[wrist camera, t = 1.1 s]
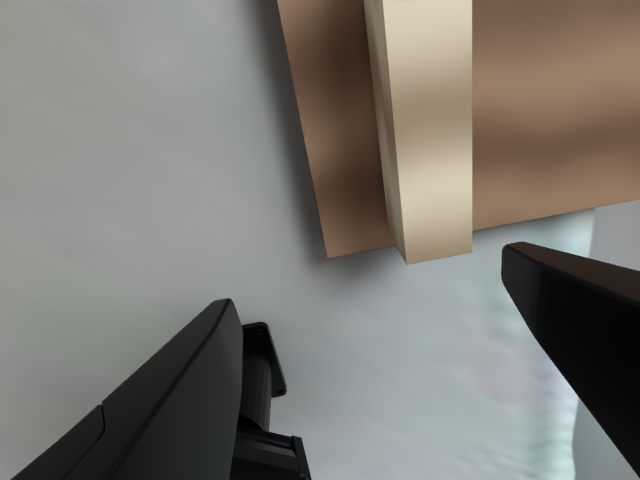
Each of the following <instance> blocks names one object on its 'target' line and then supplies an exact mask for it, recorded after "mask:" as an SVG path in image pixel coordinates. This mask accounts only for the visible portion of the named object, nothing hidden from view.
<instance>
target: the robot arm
mask: <svg viewBox="0 0 640 480" xmlns="http://www.w3.org/2000/svg"><path fill="white" fill-rule="evenodd" d="M501 277H502V282H503V284H504V286H505V288H506V290H507V292H508V293H509V295H510V297H511V298H512V300H513V302H514V304H515V305H516V307H517V309H518V310H519V312H520V314H521V316H522V317H523V319H524V321H525V322H526V324H527V326H528V328H529V329H530V331H531V332H532V334H533V336H534V337H535V339H536V340H537V341H538V343H539V344H540V346H541V347H542V348H543V350H544V351H545V352H546V354H547V355H548V356H549V358H550V359H551V360H552V362H553V363H554V364H555V366H556V367H557V368H558V370H559V371H560V372H561V374H562V375H563V376H564V378H565V379H566V380H567V382H568V383H569V384H570V386H571V387H572V388H573V390H574V391H575V393H576V394H577V395H578V397H579V398H580V399H581V401H582V402H583V403H584V405H585V406H586V407H587V408H588V410H589V411H590V412H591V414H592V415H593V417H594V418H595V419H596V420H597V422H598V423H599V425H600V426H601V427H602V429H603V430H604V431H605V433H606V434H607V435H608V437H609V438H610V439H611V441H612V442H613V443H614V444H615V446H616V447H617V449H618V450H619V451H620V452H621V454H622V455H623V457H624V458H625V459H626V461H627V462H628V463H629V465H630V466H631V467H632V469H633V470H634V471H635V473H636V474H637V475H638V477H639V478H640V271H637V270H632V269H628V268H625V267H621V266H616V265H613V264H609V263H605V262H601V261H597V260H593V259H589V258H585V257H582V256H578V255H574V254H570V253H566V252H562V251H558V250H554V249H550V248H546V247H542V246H538V245H534V244H530V243H526V242H516V243H511V244H507V245H505V246H504V247H503V249H502V267H501ZM258 329H263V331H259V330H258ZM285 394H286V383H285V379H284V376H283V373H282V369H281V366H280V363H279V360H278V356H277V353H276V350H275V346H274V343H273V340H272V337H271V333H270V330H269V327H268V325H267V324H266V323H264V322H257V323H252V324H246V325H241V323H240V320H239V317H238V314H237V311H236V308H235V305H234V303H233V301H232V300H231V299H230V298H226V299H221V300H216V301H213V302H212V303H211V304H210V305H209V306H207V307H206V308H205V309H204V310H203V311H202V312H201V313H200V314H199V315H198V316H196V317H195V318H194V319H193V320H192V321H191V322H190V323H189V324H188V325H186V326H185V327H184V328H183V329H182V330H181V331H180V332H179V333H178V334H176V335H175V336H174V337H173V338H172V339H171V340H170V341H169V342H168V343H166V344H165V345H164V346H163V347H162V348H161V349H160V350H159V351H158V352H156V353H155V354H154V355H153V356H152V357H151V358H150V359H149V360H148V361H146V362H145V363H144V364H143V365H142V366H141V367H140V368H139V369H138V370H137V371H135V372H134V373H133V374H132V375H131V376H130V377H129V378H128V379H127V380H125V381H124V382H123V383H122V384H121V385H120V386H119V387H118V388H117V389H115V390H114V391H113V392H112V393H111V394H110V395H109V396H108V397H107V398H105V399H104V400H103V401H102V405H98V406H96V407H95V408H94V409H93V410H92V411H91V412H90V413H89V414H88V415H87V416H85V417H84V418H83V419H82V420H81V421H80V422H79V423H78V424H76V425H75V426H74V427H73V428H72V429H71V430H70V431H68V432H67V433H66V434H65V435H64V436H63V437H62V438H60V439H59V440H58V441H57V442H56V443H55V444H53V445H52V446H51V447H50V448H48V449H47V450H46V451H45V452H44V453H42V454H41V455H40V456H39V457H38V458H36V459H35V460H34V461H33V462H31V463H30V464H29V465H28V466H27V467H25V468H24V469H23V470H22V471H20V472H19V473H18V474H17V475H16V476H14V477H13V478H12V479H11V480H311V475H310V471H309V467H308V463H307V459H306V455H305V451H304V447H303V442H302V438H301V437H297V436H291V437H289V436H285V435H280V434H276V433H272V432H269V423H270V408H271V398H273V397H279V396H283V395H285Z"/></svg>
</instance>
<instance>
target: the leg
mask: <svg viewBox="0 0 640 480" xmlns="http://www.w3.org/2000/svg"><path fill="white" fill-rule="evenodd" d="M364 9H365V18H366V27H367V36H368V46H369V55H370V64H371V73H372V82H373V91H374V100H375V109H376V118H377V128H378V137H379V146H380V155H381V164H382V173H383V182H384V191H385V201H386V210H387V219H388V228H389V234H390V235H391V237H392V239H393V241H394V243H395V245H396V246H397V248H398V250H399V252H400V254H401V256H402V257H403V259H404V261H405V263H406V265H409V264H414V263H419V262H425V261H430V260H435V259H441V258H446V257H451V256H456V255H462V254H467V253H472V0H364Z"/></svg>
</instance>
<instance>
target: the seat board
mask: <svg viewBox="0 0 640 480" xmlns="http://www.w3.org/2000/svg"><path fill="white" fill-rule="evenodd" d="M277 3H278V8H279V13H280V18H281V24H282V29H283V34H284V39H285V44H286V49H287V54H288V59H289V64H290V69H291V74H292V80H293V85H294V90H295V95H296V100H297V105H298V110H299V115H300V120H301V125H302V130H303V136H304V141H305V146H306V151H307V156H308V161H309V166H310V171H311V176H312V181H313V186H314V192H315V197H316V202H317V207H318V212H319V217H320V222H321V227H322V232H323V237H324V242H325V248H326V253H327V258H331V257H337V256H342V255H347V254H353V253H358V252H363V251H368V250H374V249H379V248H384V247H389V246H395V243H394V241H393V239H392V237H391V235H390V234H389V228H388V219H387V210H386V201H385V191H384V182H383V173H382V164H381V155H380V146H379V137H378V128H377V118H376V109H375V100H374V91H373V82H372V73H371V64H370V55H369V46H368V36H367V27H366V18H365V9H364V0H277ZM637 199H640V0H472V231H474V230H479V229H484V228H490V227H495V226H500V225H505V224H511V223H516V222H521V221H527V220H532V219H537V218H542V217H548V216H553V215H558V214H563V213H569V212H574V211H579V210H585V209H590V208H595V207H600V206H606V205H611V204H615V203H621V202H627V201H632V200H637Z"/></svg>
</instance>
